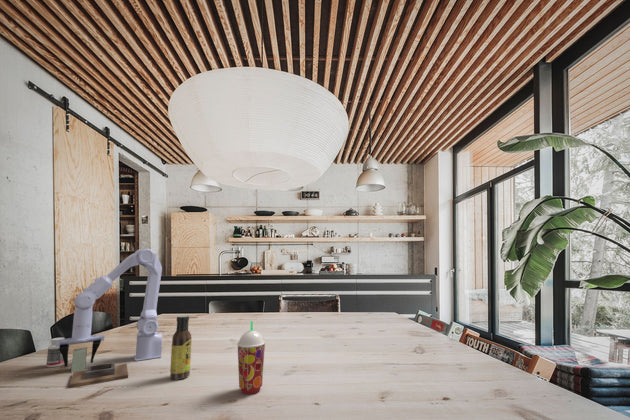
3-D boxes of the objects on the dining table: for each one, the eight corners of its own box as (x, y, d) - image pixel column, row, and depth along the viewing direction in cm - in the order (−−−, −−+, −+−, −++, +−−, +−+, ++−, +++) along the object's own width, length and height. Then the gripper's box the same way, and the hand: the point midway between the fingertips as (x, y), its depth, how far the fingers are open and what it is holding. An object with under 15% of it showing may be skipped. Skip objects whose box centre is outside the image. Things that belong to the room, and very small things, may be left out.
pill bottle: (63, 366, 123) (66, 338, 125) (45, 368, 120) (48, 341, 122) (64, 362, 128) (67, 336, 129) (47, 365, 125) (49, 338, 126)
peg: (85, 367, 122) (87, 347, 123) (84, 370, 118) (86, 350, 119) (72, 369, 120) (74, 349, 121) (71, 372, 116) (73, 351, 117)
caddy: (126, 366, 122) (127, 358, 122) (128, 377, 110) (128, 368, 110) (73, 375, 114) (74, 365, 114) (69, 388, 102) (69, 378, 102)
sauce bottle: (188, 379, 108) (191, 317, 111) (168, 381, 106) (171, 318, 109) (191, 373, 114) (193, 314, 117) (172, 374, 113) (174, 315, 116)
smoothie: (238, 385, 102) (240, 319, 105) (265, 384, 103) (266, 318, 106) (234, 396, 94) (236, 324, 97) (263, 395, 95) (264, 323, 97)
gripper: (56, 329, 114) (52, 370, 112) (105, 324, 122) (102, 363, 120) (59, 326, 120) (55, 365, 118) (105, 321, 128) (102, 358, 126)
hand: (79, 364), depth 119 cm, fingers open, 7 cm apart
